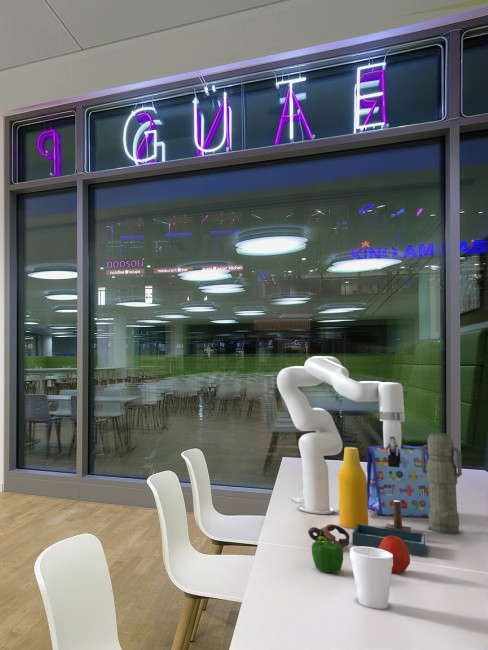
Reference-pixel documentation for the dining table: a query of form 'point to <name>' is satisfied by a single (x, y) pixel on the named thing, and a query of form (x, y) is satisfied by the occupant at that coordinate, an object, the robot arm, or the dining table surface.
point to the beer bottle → (352, 491)
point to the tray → (375, 535)
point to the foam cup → (372, 575)
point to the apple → (396, 553)
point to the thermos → (442, 482)
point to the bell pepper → (327, 555)
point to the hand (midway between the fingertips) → (394, 465)
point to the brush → (397, 518)
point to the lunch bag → (398, 482)
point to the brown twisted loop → (326, 533)
